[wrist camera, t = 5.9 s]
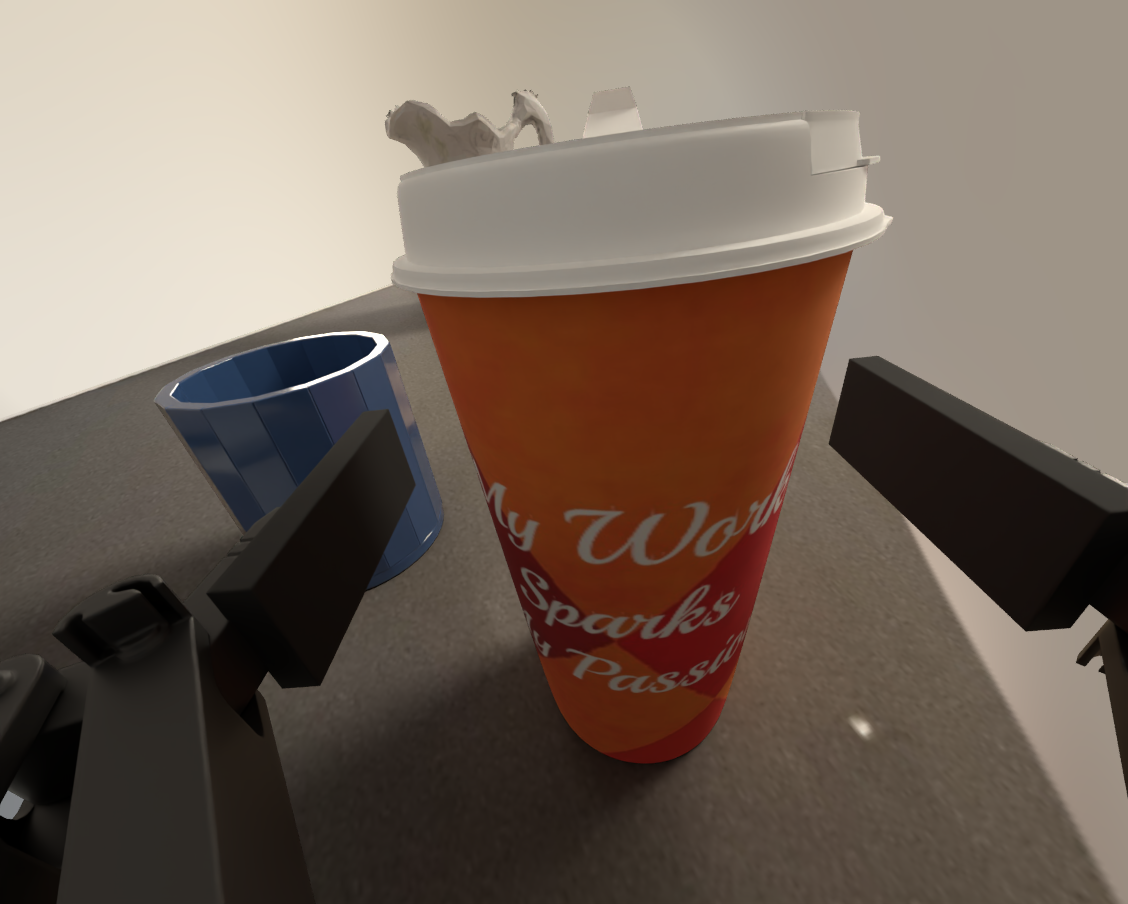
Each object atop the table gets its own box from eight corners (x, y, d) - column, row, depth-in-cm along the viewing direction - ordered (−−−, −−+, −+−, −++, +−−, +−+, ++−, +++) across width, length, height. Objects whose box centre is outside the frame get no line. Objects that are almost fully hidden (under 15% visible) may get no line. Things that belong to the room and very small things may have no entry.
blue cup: (464, 547, 20) (405, 361, 15) (271, 633, 17) (125, 435, 12) (423, 470, 26) (372, 321, 21) (276, 523, 23) (179, 363, 18)
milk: (585, 269, 80) (571, 90, 67) (590, 259, 90) (578, 101, 76) (651, 263, 78) (650, 76, 65) (649, 253, 88) (647, 90, 74)
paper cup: (484, 781, 12) (211, 186, 5) (549, 570, 18) (478, 179, 11) (797, 847, 10) (1172, 32, 3) (748, 586, 16) (824, 130, 9)
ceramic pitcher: (528, 287, 78) (495, 116, 66) (600, 287, 63) (575, 69, 52) (415, 317, 67) (352, 122, 56) (471, 326, 53) (402, 64, 41)
